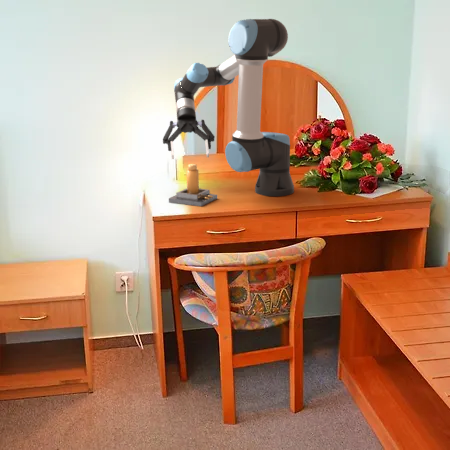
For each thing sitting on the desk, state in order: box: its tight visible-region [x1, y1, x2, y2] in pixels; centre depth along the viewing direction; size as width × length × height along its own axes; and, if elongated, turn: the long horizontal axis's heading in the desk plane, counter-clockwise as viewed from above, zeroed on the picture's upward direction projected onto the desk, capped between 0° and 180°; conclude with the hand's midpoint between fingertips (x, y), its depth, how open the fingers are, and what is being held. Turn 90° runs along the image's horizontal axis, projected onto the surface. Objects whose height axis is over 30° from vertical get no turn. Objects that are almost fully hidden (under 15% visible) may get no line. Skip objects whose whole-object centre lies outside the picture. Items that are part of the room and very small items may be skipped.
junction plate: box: [168, 188, 218, 207], centre depth 248 cm, size 14×12×4 cm
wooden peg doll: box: [186, 163, 200, 194], centre depth 246 cm, size 4×4×12 cm
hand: (190, 156), depth 256 cm, fingers open, 13 cm apart
